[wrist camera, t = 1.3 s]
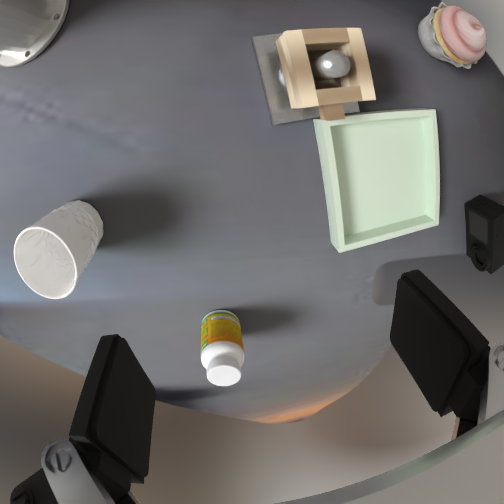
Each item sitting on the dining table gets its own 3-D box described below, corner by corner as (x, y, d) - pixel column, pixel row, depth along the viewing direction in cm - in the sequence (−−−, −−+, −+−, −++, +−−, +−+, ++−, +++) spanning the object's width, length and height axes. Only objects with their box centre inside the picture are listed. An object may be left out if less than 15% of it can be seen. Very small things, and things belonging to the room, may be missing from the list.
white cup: (101, 190, 31) (63, 221, 22) (114, 251, 34) (87, 297, 25) (48, 200, 30) (4, 232, 21) (63, 257, 33) (29, 300, 25)
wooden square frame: (275, 41, 22) (285, 31, 19) (342, 36, 22) (360, 28, 19) (294, 124, 26) (306, 126, 23) (359, 114, 26) (378, 116, 23)
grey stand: (251, 39, 25) (264, 15, 17) (337, 31, 25) (374, 12, 17) (271, 124, 30) (291, 128, 22) (354, 111, 30) (396, 114, 22)
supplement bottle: (201, 308, 39) (199, 361, 31) (241, 308, 40) (248, 360, 31) (201, 337, 42) (201, 389, 33) (238, 337, 42) (245, 389, 34)
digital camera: (459, 205, 37) (489, 222, 31) (479, 193, 37) (509, 208, 30) (461, 258, 42) (486, 278, 36) (481, 245, 41) (505, 263, 35)
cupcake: (440, 6, 23) (488, -4, 14) (464, 64, 27) (514, 65, 18) (396, 11, 24) (445, -6, 15) (423, 75, 28) (477, 74, 19)
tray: (312, 118, 30) (321, 119, 27) (422, 108, 30) (435, 109, 27) (331, 243, 37) (339, 252, 35) (427, 217, 37) (438, 224, 35)
